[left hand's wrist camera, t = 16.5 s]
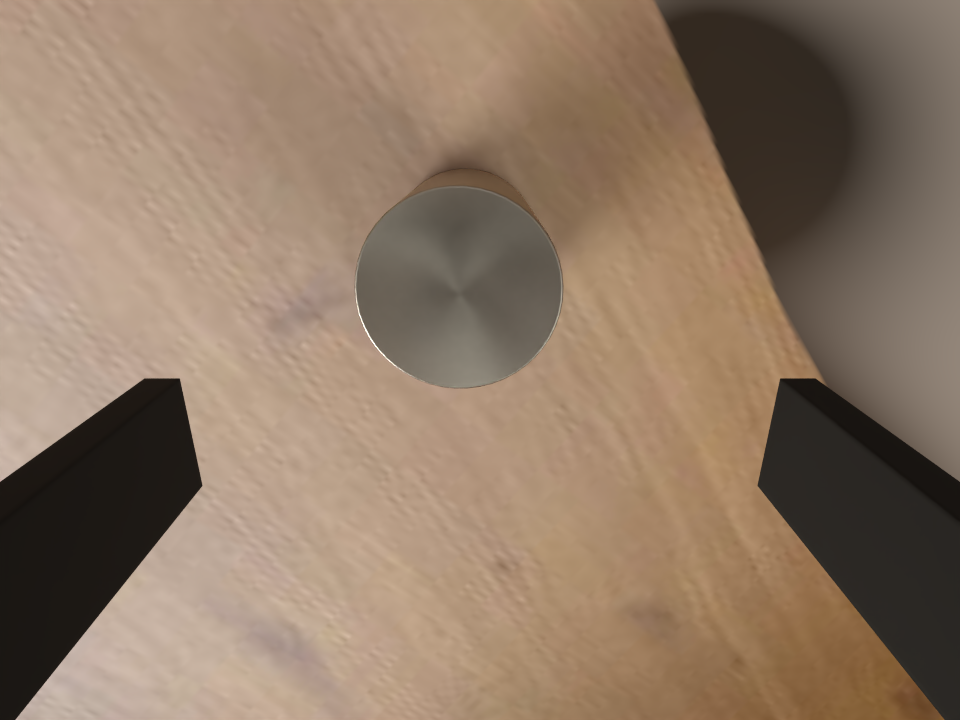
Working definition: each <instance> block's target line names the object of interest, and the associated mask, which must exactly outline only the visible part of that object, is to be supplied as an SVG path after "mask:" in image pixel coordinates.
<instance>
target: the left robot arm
mask: <svg viewBox="0 0 960 720" xmlns="http://www.w3.org/2000/svg"><path fill="white" fill-rule="evenodd" d="M201 487H202V481H201V477H200V472H199V467H198V462H197V458H196V453H195V448H194V444H193V439H192V434H191V429H190V425H189V420H188V415H187V411H186V406H185V401H184V396H183V392H182V387H181V382H180V379H143V380H142V381H141V382H139V383H138V384H136V385H135V386H134V387H132V388H131V389H129V390H128V391H127V392H125V393H124V394H122V395H121V396H120V397H118V398H117V399H115V400H114V401H113V402H111V403H110V404H108V405H107V406H106V407H104V408H103V409H101V410H100V411H99V412H97V413H96V414H94V415H93V416H92V417H90V418H89V419H87V420H86V421H85V422H83V423H82V424H80V425H79V426H78V427H76V428H75V429H73V430H72V431H71V432H69V433H68V434H66V435H65V436H64V437H62V438H61V439H59V440H58V441H57V442H55V443H54V444H53V445H51V446H50V447H48V448H47V449H46V450H44V451H43V452H41V453H40V454H39V455H37V456H36V457H34V458H33V459H32V460H30V461H29V462H27V463H26V464H25V465H23V466H22V467H20V468H19V469H18V470H16V471H15V472H13V473H12V474H11V475H9V476H8V477H6V478H5V479H4V480H2V481H1V482H0V720H15V719H16V718H17V717H18V716H19V714H20V713H21V712H22V711H23V709H24V708H25V707H26V706H27V704H28V703H29V702H30V701H31V699H32V698H33V697H34V696H35V694H36V693H37V692H38V691H39V689H40V688H41V687H42V686H43V684H44V683H45V682H46V681H47V679H48V678H49V677H50V676H51V674H52V673H53V672H54V671H55V669H56V668H57V667H58V666H59V664H60V663H61V662H62V661H63V659H64V658H65V657H66V656H67V654H68V653H69V652H70V651H71V649H72V648H73V647H74V646H75V644H76V643H77V642H78V641H79V639H80V638H81V637H82V636H83V634H84V633H85V632H86V631H87V629H88V628H89V627H90V626H91V624H92V623H93V622H94V621H95V619H96V618H97V617H98V616H99V614H100V613H101V612H102V611H103V609H104V608H105V607H106V606H107V604H108V603H109V602H110V601H111V599H112V598H113V597H114V596H115V594H116V593H117V592H118V591H119V589H120V588H121V587H122V586H123V584H124V583H125V582H126V581H127V579H128V578H129V577H130V576H131V574H132V573H133V572H134V571H135V569H136V568H137V567H138V566H139V564H140V563H141V562H142V561H143V559H144V558H145V557H146V556H147V554H148V553H149V552H150V551H151V549H152V548H153V547H154V546H155V544H156V543H157V542H158V541H159V539H160V538H161V537H162V536H163V534H164V533H165V532H166V531H167V529H168V528H169V527H170V526H171V524H172V523H173V522H174V521H175V519H176V518H177V517H178V516H179V514H180V513H181V512H182V511H183V509H184V508H185V507H186V506H187V504H188V503H189V502H190V501H191V499H192V498H193V497H194V496H195V494H196V493H197V492H198V491H199V489H200V488H201ZM758 487H759V488H760V489H761V491H762V492H763V493H764V494H765V496H766V497H767V498H768V499H769V501H770V502H771V503H772V504H773V506H774V507H775V508H776V509H777V511H778V512H779V513H780V514H781V516H782V517H783V518H784V519H785V521H786V522H787V523H788V524H789V526H790V527H791V528H792V529H793V531H794V532H795V533H796V534H797V536H798V537H799V538H800V539H801V541H802V542H803V543H804V544H805V546H806V547H807V548H808V549H809V551H810V552H811V553H812V554H813V556H814V557H815V558H816V559H817V561H818V562H819V563H820V564H821V566H822V567H823V568H824V569H825V571H826V572H827V573H828V574H829V576H830V577H831V578H832V579H833V581H834V582H835V583H836V584H837V586H838V587H839V588H840V589H841V591H842V592H843V593H844V594H845V596H846V597H847V598H848V599H849V601H850V602H851V603H852V604H853V606H854V607H855V608H856V609H857V611H858V612H859V613H860V614H861V616H862V617H863V618H864V619H865V621H866V622H867V623H868V624H869V626H870V627H871V628H872V629H873V631H874V632H875V633H876V634H877V636H878V637H879V638H880V639H881V641H882V642H883V643H884V644H885V646H886V647H887V648H888V649H889V651H890V652H891V653H892V654H893V656H894V657H895V658H896V659H897V661H898V662H899V663H900V664H901V666H902V667H903V668H904V669H905V671H906V672H907V673H908V674H909V676H910V677H911V678H912V679H913V681H914V682H915V683H916V684H917V686H918V687H919V688H920V689H921V691H922V692H923V693H924V694H925V696H926V697H927V698H928V699H929V701H930V702H931V703H932V704H933V706H934V707H935V708H936V709H937V711H938V712H939V713H940V714H941V716H942V717H943V718H944V719H945V720H960V482H959V481H958V480H956V479H955V478H954V477H952V476H951V475H949V474H948V473H947V472H945V471H944V470H942V469H941V468H940V467H938V466H937V465H935V464H934V463H933V462H931V461H930V460H928V459H927V458H926V457H924V456H923V455H921V454H920V453H919V452H917V451H916V450H914V449H913V448H912V447H910V446H909V445H907V444H906V443H905V442H903V441H902V440H901V439H899V438H898V437H896V436H895V435H894V434H892V433H891V432H889V431H888V430H887V429H885V428H884V427H882V426H881V425H880V424H878V423H877V422H875V421H874V420H873V419H871V418H870V417H868V416H867V415H866V414H864V413H863V412H861V411H860V410H859V409H857V408H856V407H854V406H853V405H852V404H850V403H849V402H847V401H846V400H845V399H843V398H842V397H840V396H839V395H838V394H836V393H835V392H833V391H832V390H831V389H829V388H828V387H826V386H825V385H824V384H822V383H821V382H819V381H818V380H817V379H780V382H779V387H778V392H777V396H776V401H775V406H774V411H773V415H772V420H771V425H770V429H769V434H768V439H767V444H766V448H765V453H764V458H763V462H762V467H761V472H760V477H759V481H758Z"/></svg>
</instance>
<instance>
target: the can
mask: <svg viewBox="0 0 960 720" xmlns="http://www.w3.org/2000/svg"><path fill="white" fill-rule="evenodd" d="M355 298H356V304H357V309H358V313H359V316H360V319H361V321H362V324H363V327H364V328H365V330H366V332H367V334H368V336H369V338H370V339H371V341H372V342H373V344H374V345H375V346H376V348H377V349H378V350H379V351H380V352H381V354H382V355H383V356H384V357H385V358H386V359H387V360H388V361H390V362H391V363H392V364H393V365H394V366H395V367H397V368H398V369H400V370H401V371H403V372H404V373H406V374H408V375H410V376H412V377H414V378H415V379H417V380H420V381H423V382H426V383H428V384H432V385H436V386H440V387H447V388H473V387H481V386H485V385H489V384H492V383H495V382H498V381H500V380H503V379H505V378H507V377H509V376H511V375H513V374H515V373H516V372H518V371H519V370H520V369H522V368H523V367H525V366H526V365H527V364H528V363H529V362H530V361H532V360H533V359H534V358H535V357H536V356H537V355H538V353H539V352H540V351H541V350H542V349H543V348H544V346H545V345H546V343H547V341H548V340H549V338H550V337H551V335H552V333H553V331H554V329H555V327H556V324H557V321H558V318H559V315H560V312H561V306H562V301H563V276H562V270H561V265H560V261H559V258H558V255H557V252H556V250H555V247H554V245H553V243H552V241H551V239H550V237H549V236H548V234H547V232H546V231H545V229H544V228H543V226H542V225H541V223H540V222H539V220H538V219H537V217H536V216H535V214H534V213H533V212H532V210H531V209H530V207H529V206H528V204H527V203H526V201H525V200H524V198H523V197H522V196H521V194H520V193H519V192H518V191H517V190H516V189H515V188H514V187H512V186H511V185H510V184H509V183H508V182H506V181H505V180H503V179H501V178H500V177H498V176H495V175H493V174H491V173H488V172H485V171H481V170H475V169H455V170H449V171H446V172H442V173H439V174H437V175H435V176H433V177H431V178H429V179H427V180H426V181H424V182H423V183H422V184H420V185H419V186H418V187H417V188H415V189H414V190H413V191H412V192H411V193H409V194H408V195H407V196H406V197H405V198H403V199H402V200H401V201H400V202H398V203H397V204H396V205H395V206H394V207H392V208H391V209H390V210H389V211H388V212H386V213H385V214H384V215H383V216H382V218H381V219H380V220H379V221H378V222H377V223H376V224H375V226H374V227H373V229H372V230H371V232H370V233H369V235H368V236H367V238H366V240H365V242H364V244H363V246H362V249H361V252H360V255H359V258H358V261H357V267H356V272H355Z"/></svg>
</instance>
